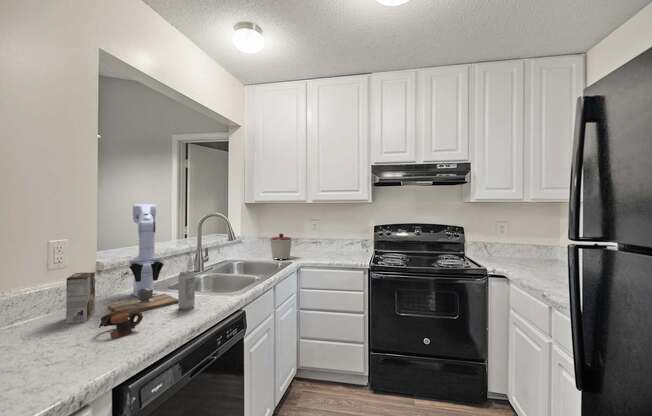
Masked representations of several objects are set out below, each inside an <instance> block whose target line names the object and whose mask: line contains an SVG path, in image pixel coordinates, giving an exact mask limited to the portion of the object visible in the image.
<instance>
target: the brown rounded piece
mask: <svg viewBox="0 0 652 416" xmlns="http://www.w3.org/2000/svg"><path fill="white" fill-rule="evenodd" d="M136 317H137V319H136V321H135V318H136ZM143 318H144V316H143V314H142V312H134V313H131V314H129V313H127V310H120V311H116V312H113V311H112V312H110V313H108V314H106V315H103V316H102V317H101V318H100V321H101V322H100V323H99V326H98V328H99V329H100V328H101V327H102V328H103V327H109V326H110V327H111V326H112V327H113V326H114V327H115V328H116V329H114V330H113V331H110V332H109V334H110V339H112V340H113V339H116V338H119V337H121V336H126V335H130V334H132V330H134V329H135V328H136V326H138V325H139V324H140V323H141V322H142V320H143Z"/></svg>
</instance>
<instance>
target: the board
mask: <svg viewBox="0 0 652 416" xmlns="http://www.w3.org/2000/svg"><path fill="white" fill-rule="evenodd" d="M176 304H177V305H178V298H176V297H174V296H171V295H169V294H167V293H163V294H162V293H161V294H155V295H152V298H150V299H147V300H139V299H137V298H136V299H132V300H126V301H122V302H116V303H111V304H108V305H107V308H108V309H109V310H111V312H112V313H113V312H116V311H120V310H127V313H129V314H131V313H134V312H140V313H142V312H145V311H150V310H154V309H158V308H163V307H167V306H172V305H176Z"/></svg>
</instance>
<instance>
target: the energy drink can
mask: <svg viewBox="0 0 652 416" xmlns="http://www.w3.org/2000/svg"><path fill="white" fill-rule="evenodd" d="M195 277H196V274H195V272H194V270H193V269H183V270H181V271H180V273H179V274H178V296H177V297H178V298H177V299H178V303H177V305H178V308H179V309H180V310H191V309H192V308H194V306H195V300H196V299H195V295H196V294H195V292H196V290H195V289H196V288H195V287H196V286H195V282H196V281H195Z"/></svg>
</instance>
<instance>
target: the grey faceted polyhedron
mask: <svg viewBox="0 0 652 416" xmlns="http://www.w3.org/2000/svg"><path fill="white" fill-rule="evenodd" d="M153 291H154V288H153V289H150V288H148V289H141V290H138V291H137V296H136V299H139V300H147V299H150V298H152V296H154V294H153Z"/></svg>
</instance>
